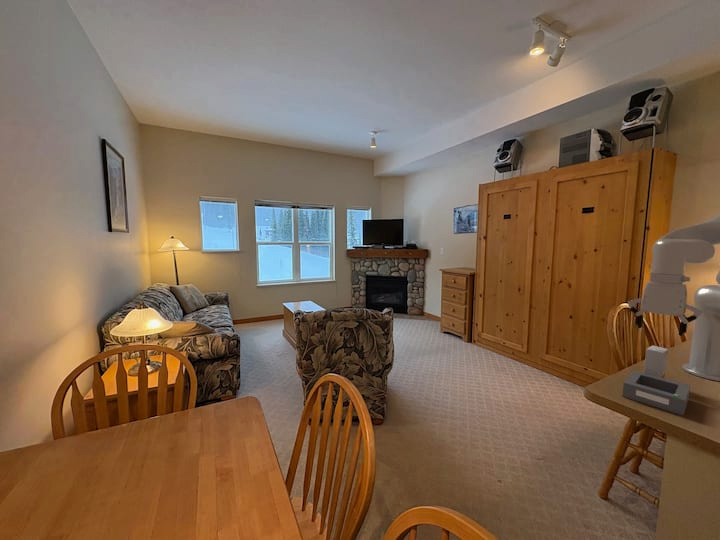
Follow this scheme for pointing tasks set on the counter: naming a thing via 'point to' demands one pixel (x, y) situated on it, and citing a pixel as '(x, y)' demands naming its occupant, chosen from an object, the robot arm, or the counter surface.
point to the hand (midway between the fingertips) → (659, 330)
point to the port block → (657, 392)
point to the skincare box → (656, 361)
